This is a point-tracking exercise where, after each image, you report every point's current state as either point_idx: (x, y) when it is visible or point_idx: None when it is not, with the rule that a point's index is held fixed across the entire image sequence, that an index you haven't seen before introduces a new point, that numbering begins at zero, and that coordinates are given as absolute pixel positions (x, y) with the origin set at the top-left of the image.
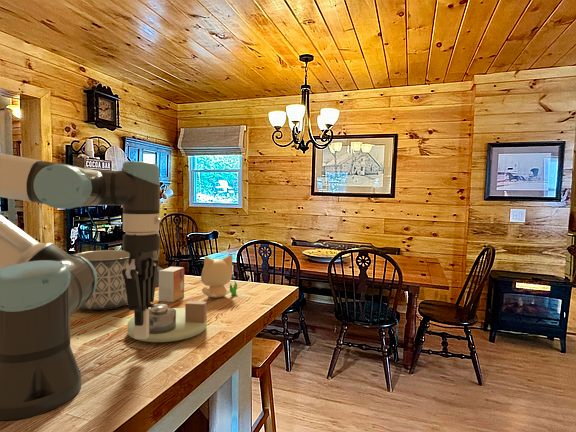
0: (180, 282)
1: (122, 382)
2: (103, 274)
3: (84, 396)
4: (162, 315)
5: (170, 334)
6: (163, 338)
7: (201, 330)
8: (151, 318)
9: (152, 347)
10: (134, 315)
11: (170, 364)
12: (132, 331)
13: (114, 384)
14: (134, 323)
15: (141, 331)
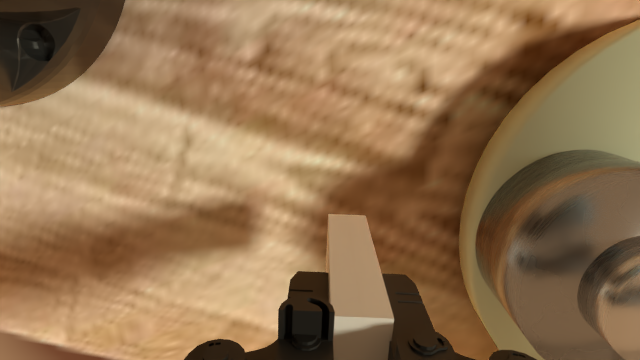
0: None
1: (130, 220)
2: None
3: (12, 137)
4: (563, 327)
5: (479, 310)
6: (466, 272)
7: None
8: (519, 273)
9: (441, 213)
10: (331, 287)
11: None
12: (542, 100)
13: (111, 199)
14: (329, 255)
15: (326, 272)
